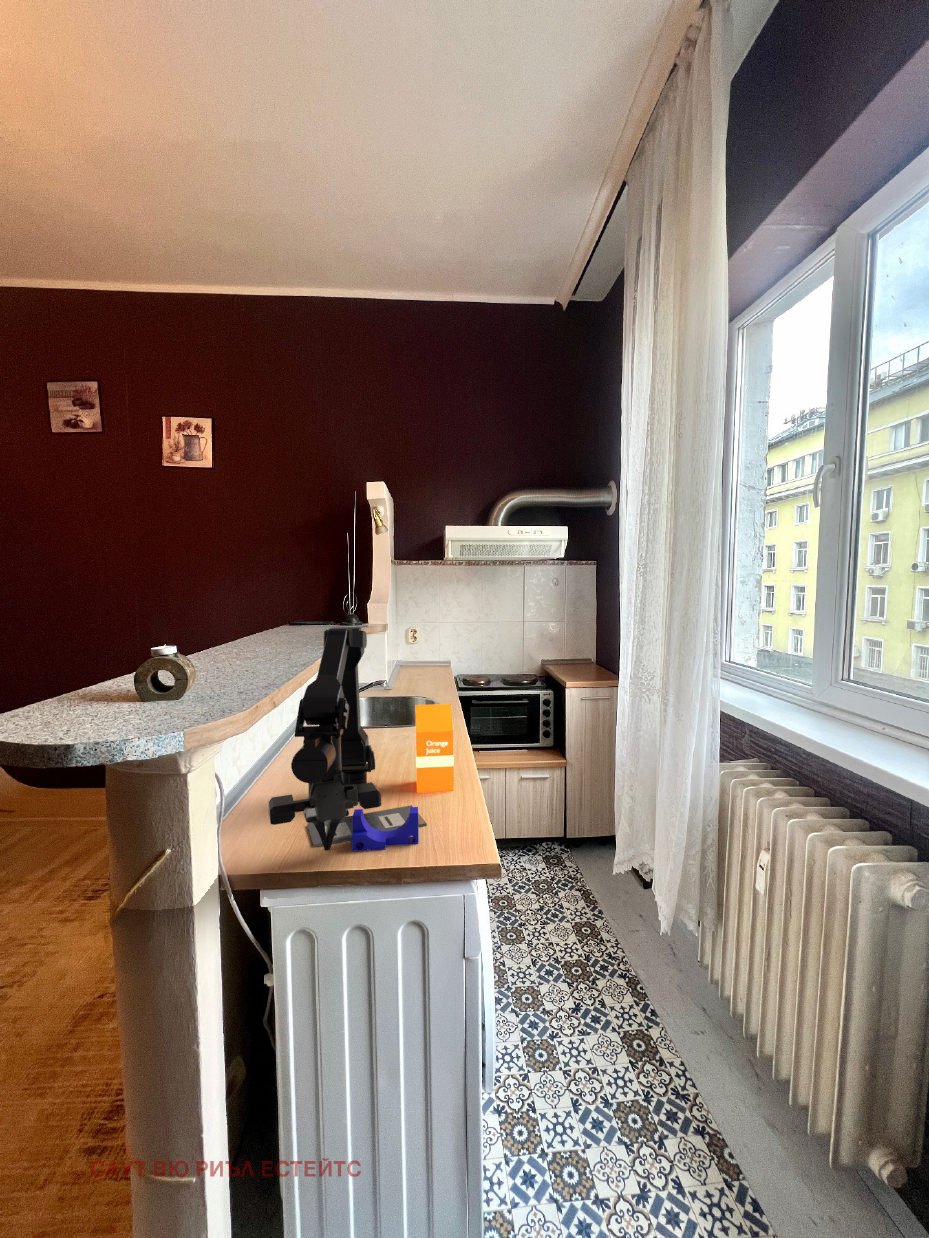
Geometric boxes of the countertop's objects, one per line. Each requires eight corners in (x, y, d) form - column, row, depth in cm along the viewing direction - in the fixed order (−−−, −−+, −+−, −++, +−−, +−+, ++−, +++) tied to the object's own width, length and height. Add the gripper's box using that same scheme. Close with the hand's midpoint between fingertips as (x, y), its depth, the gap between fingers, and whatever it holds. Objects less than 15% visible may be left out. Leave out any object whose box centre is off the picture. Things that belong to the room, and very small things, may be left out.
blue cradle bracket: (352, 851, 96) (351, 819, 96) (355, 840, 101) (354, 809, 101) (418, 848, 97) (417, 816, 97) (418, 837, 102) (418, 806, 102)
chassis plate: (307, 825, 107) (307, 822, 107) (411, 807, 116) (411, 804, 116) (313, 847, 98) (313, 843, 98) (426, 825, 107) (426, 822, 107)
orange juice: (416, 781, 132) (415, 701, 131) (451, 779, 133) (450, 700, 132) (416, 793, 124) (415, 708, 123) (454, 791, 125) (453, 707, 124)
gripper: (270, 786, 82) (273, 884, 83) (388, 769, 89) (390, 859, 90) (267, 764, 92) (270, 852, 93) (373, 751, 100) (374, 832, 100)
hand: (326, 849), depth 94 cm, fingers closed
